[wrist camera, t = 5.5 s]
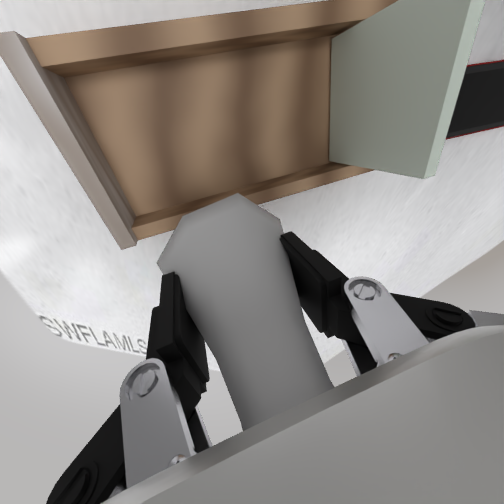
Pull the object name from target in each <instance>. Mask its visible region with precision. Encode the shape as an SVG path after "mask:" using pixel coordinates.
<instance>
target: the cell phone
mask: <svg viewBox="0 0 504 504" xmlns="http://www.w3.org/2000/svg"><path fill="white" fill-rule="evenodd" d="M503 126H504V60H500V61H493V62H486V63H479V64H472V65H467V67H466V70H465V74H464V77H463V80H462V84H461V87H460V91H459V94H458V98H457V101H456V105H455V108H454V111H453V115H452V118H451V122H450V125H449V129H448V132H447V136H446V139H450V137H451V138H455V137H459V136H463V135H468V134H472V133H477V132H481V131H485V130H490V129H494V128H499V127H503ZM454 136H455V137H454Z"/></svg>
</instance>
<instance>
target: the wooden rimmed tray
mask: <svg viewBox="0 0 504 504" xmlns="http://www.w3.org/2000/svg"><path fill="white" fill-rule="evenodd" d="M396 1H398V0H328V1H320V2H312V3H304V4H296V5H288V6H280V7H272V8H264V9H256V10H248V11H240V12H232V13H224V14H216V15H208V16H200V17H192V18H184V19H176V20H168V21H160V22H152V23H144V24H136V25H128V26H120V27H112V28H104V29H96V30H88V31H80V32H72V33H64V34H56V35H48V36H40V37H32V38H24V37H23V36H21V35H20V34H18V33H17V32H15V31H11V32H2V33H0V56H1V57H2V59H3V61H4V62H5V64H6V65H7V67H8V69H9V70H10V72H11V73H12V75H13V77H14V78H15V80H16V81H17V83H18V85H19V86H20V88H21V90H22V91H23V93H24V94H25V96H26V98H27V99H28V101H29V102H30V104H31V106H32V107H33V109H34V110H35V112H36V114H37V115H38V117H39V118H40V120H41V122H42V123H43V125H44V126H45V128H46V130H47V131H48V133H49V134H50V136H51V138H52V139H53V141H54V142H55V144H56V146H57V147H58V149H59V151H60V152H61V154H62V155H63V157H64V159H65V160H66V162H67V163H68V165H69V167H70V168H71V170H72V171H73V173H74V175H75V176H76V178H77V179H78V181H79V183H80V184H81V186H82V187H83V189H84V191H85V192H86V194H87V195H88V197H89V199H90V200H91V202H92V203H93V205H94V207H95V208H96V210H97V212H98V213H99V215H100V216H101V218H102V220H103V221H104V223H105V224H106V226H107V228H108V229H109V231H110V232H111V234H112V236H113V237H114V239H115V240H116V242H117V244H118V245H119V247H120V248H121V250H123V249H126V248H129V247H133V246H136V244H137V241H138V240H141V239H144V238H147V237H151V236H154V235H158V234H161V233H164V232H168V231H171V230H174V229H176V227H177V225H178V223H179V222H180V220H181V218H182V216H184V215H186V214H189V213H191V212H194V211H196V210H198V209H201V208H203V207H206V206H208V205H210V204H213V203H215V202H217V201H220V200H222V199H225V198H227V197H229V196H232V195H234V194H236V193H239V194H240V195H242V196H244V197H245V198H247V199H248V200H250V201H251V202H253V203H255V204H256V205H259V204H262V203H265V202H269V201H272V200H275V199H279V198H282V197H285V196H289V195H292V194H296V193H299V192H302V191H306V190H309V189H312V188H316V187H319V186H322V185H326V184H329V183H333V182H336V181H339V180H343V179H346V178H349V177H353V176H356V175H360V174H363V173H366V172H370V171H373V170H374V169H369V168H363V167H358V166H353V165H348V164H342V163H337V162H332V161H329V144H330V95H331V47H332V39H333V38H334V37H336V36H338V35H340V34H341V33H343V32H345V31H346V30H348V29H350V28H352V27H353V26H355V25H357V24H359V23H360V22H362V21H364V20H365V19H367V18H369V17H371V16H372V15H374V14H376V13H378V12H379V11H381V10H383V9H384V8H386V7H388V6H390V5H391V4H393V3H395V2H396Z"/></svg>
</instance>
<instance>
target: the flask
mask: <svg viewBox="0 0 504 504" xmlns="http://www.w3.org/2000/svg"><path fill="white" fill-rule="evenodd" d="M282 234H283V230H282V226H281V222H280V219H278V218H277V217H275V216H274V215H272V214H270V213H269V212H267V211H266V210H264V209H263V208H261V207H259V206H258V205H256V204H255V203H253V202H251V201H250V200H248V199H247V198H245V197H244V196H242V195H240V194H239V193H236V194H234V195H232V196H229V197H227V198H225V199H222V200H220V201H217V202H215V203H213V204H210V205H208V206H206V207H203V208H201V209H198V210H196V211H194V212H191V213H189V214H186V215H184V216H182V218H181V220H180V222H179V223H178V225H177V227H176V229H175V231H174V232H173V234H172V236H171V238H170V240H169V242H168V243H167V245H166V247H165V249H164V251H163V252H162V254H161V256H160V258H159V260H158V261H157V265H158V266H159V268H160V270H161V271H162V273H163V275H165V274H168V273H171V272H175V274H177V275H178V276H179V278H180V282H181V287H182V292H183V297H184V301H185V306H186V310H187V311H188V313H189V315H190V316H191V318H192V320H193V321H194V323H195V325H196V326H197V328H198V330H199V331H200V333H201V335H202V336H203V338H204V340H205V342H206V343H207V345H208V347H209V348H210V350H211V352H212V353H213V355H214V357H215V358H216V360H217V363H218V365H219V368H220V370H221V373H222V375H223V378H224V381H225V383H226V386H227V388H228V391H229V393H230V396H231V398H232V401H233V404H234V406H235V408H236V411H237V414H238V416H239V419H240V421H241V425H242V429H243V431H245V430H247V429H249V428H251V427H253V426H255V425H257V424H259V423H261V422H263V421H266V420H268V419H270V418H272V417H274V416H276V415H278V414H280V413H282V412H284V411H286V410H288V409H291V408H293V407H295V406H297V405H299V404H301V403H303V402H305V401H307V400H309V399H311V398H313V397H316V396H318V395H320V394H322V393H324V392H326V391H328V390H330V389H332V388H334V386H333V384H332V382H331V381H330V379H329V376H328V374H327V372H326V370H325V367H324V365H323V362H322V360H321V358H320V355H319V353H318V351H317V348H316V346H315V344H314V341H313V339H312V337H311V334H310V332H309V330H308V327H307V325H306V323H305V320H304V316H303V312H302V308H301V304H300V301H299V297H298V293H297V289H296V285H295V282H294V278H293V274H292V269H291V265H290V261H289V257H288V254H287V252H286V251H285V249H284V247H283V245H282V243H281V241H280V238H282V237H281V236H280V235H282Z"/></svg>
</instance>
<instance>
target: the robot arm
mask: <svg viewBox="0 0 504 504" xmlns="http://www.w3.org/2000/svg"><path fill="white" fill-rule="evenodd" d="M280 236H281V237H282V238H280V241H281V243H282V245H283V247H284V249H285V251H286V252H287V254H288V257H289V261H290V265H291V269H292V274H293V278H294V282H295V285H296V289H297V293H298V297H299V301H300V304H301V307H302V308H303V309H304V311H305V312H306V314H307V315H308V317H309V318H310V319H311V321H312V322H313V324H314V325H315V327H316V328H317V329H318V331H319V332H320V333H322V332H324V333H325V335H326V336H327V338H330V337H332V336H334V335H335V336H336V337H337V338H339V339H341V340H342V342H343V345H344V347H345V349H346V351H347V354H348V356H349V359H350V361H351V363H352V366H353V368H354V370H355V373H356V375H357V377H355V378H353V379H351V380H349V381H347V382H345V383H343V384H341V385H339V386H337V387H334V388H332V389H330V390H328V391H326V392H324V393H322V394H320V395H318V396H316V397H313V398H311V399H309V400H307V401H305V402H303V403H301V404H299V405H297V406H295V407H293V408H291V409H288V410H286V411H284V412H282V413H280V414H278V415H276V416H274V417H272V418H270V419H268V420H266V421H263V422H261V423H259V424H257V425H255V426H253V427H251V428H249V429H247V430H245V431H243V432H241V433H239V434H237V435H235V436H232V437H230V438H228V439H226V440H224V441H222V442H220V443H218V444H216V445H214V446H212V443H211V441H210V438H209V435H208V433H207V430H206V427H205V425H204V422H203V420H202V417H201V414H200V411H199V409H198V406H197V404H198V402H199V401H200V399H201V394H202V393H204V392H206V391H207V390H206V382H208V381H209V371H208V363H207V356H206V349H205V341H204V338H203V336H202V335H201V333H200V331H199V330H198V328H197V326H196V325H195V323H194V321H193V320H192V318H191V316H190V315H189V313H188V311H187V310H186V306H185V301H184V297H183V292H182V287H181V282H180V278H179V276H178V275H177V274H175V272H171V273H168V274H165V275H162V282H161V293H160V304H159V306H157V307H154V308H153V310H152V316H151V323H150V331H149V339H148V347H147V355H146V360H145V361H143V362H141V363H139V364H138V365H136V366H135V367H134V368H133V369H132V370H131V371H130V372H129V373H128V374H127V376H126V378H125V379H124V381H123V383H122V386H121V388H120V405H119V406H118V407H117V409H116V410H115V411H114V412H113V413H112V414H111V416H110V417H109V418H108V419H107V421H106V422H105V423H104V424H103V425H102V427H101V428H100V429H99V430H98V432H97V433H96V434H95V435H94V437H93V438H92V439H91V440H90V441H89V442H88V444H87V445H86V446H85V447H84V449H83V450H82V451H81V452H80V454H79V455H78V456H77V457H76V458H75V460H74V461H73V462H72V463H71V465H70V466H69V467H68V468H67V469H66V470H65V472H64V473H63V474H62V476H61V477H60V479H59V480H58V481H57V483H56V484H55V486H54V488H53V490H52V492H51V494H50V495H49V497H48V500H47V503H46V504H504V314H497V313H489V312H480V311H472V310H469V312H468V313H466V312H465V311H463V310H462V309H460V308H458V307H456V306H454V305H451V304H448V303H444V302H439V301H432V300H427V299H422V298H416V297H410V296H405V295H399V294H393V293H389V292H388V291H387V289H386V288H385V287H384V286H383V285H382V284H381V283H380V282H378V281H377V280H375V279H372V278H369V277H354V278H351V279H349V278H348V277H346V276H345V275H344V274H343V273H342V272H341V271H340V270H338V269H337V268H336V267H335V266H334V265H333V264H332V263H330V262H329V261H328V260H327V259H326V258H325V257H324V256H322V255H321V254H320V253H319V252H318V251H316V250H312V249H311V248H310V247H308V246H307V245H306V244H305V243H304V242H303V241H302V240H301V239H300V238H298V237H297V236H296V235H295V234H294V233H293V232H288V233H285V234H282V235H280Z"/></svg>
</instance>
